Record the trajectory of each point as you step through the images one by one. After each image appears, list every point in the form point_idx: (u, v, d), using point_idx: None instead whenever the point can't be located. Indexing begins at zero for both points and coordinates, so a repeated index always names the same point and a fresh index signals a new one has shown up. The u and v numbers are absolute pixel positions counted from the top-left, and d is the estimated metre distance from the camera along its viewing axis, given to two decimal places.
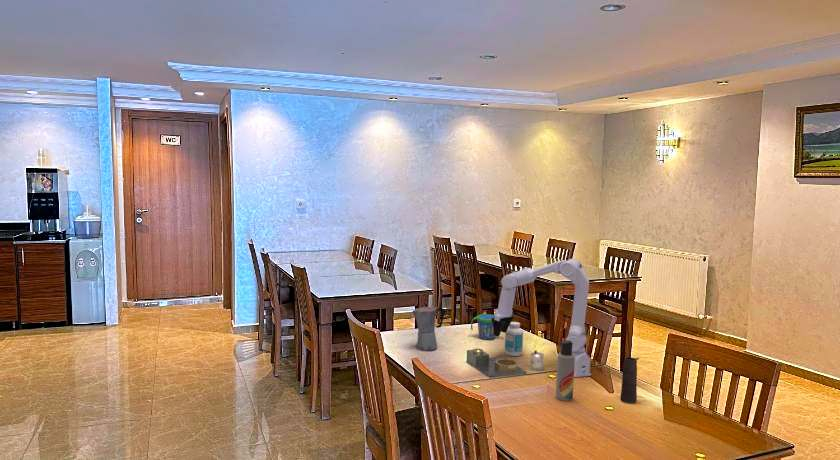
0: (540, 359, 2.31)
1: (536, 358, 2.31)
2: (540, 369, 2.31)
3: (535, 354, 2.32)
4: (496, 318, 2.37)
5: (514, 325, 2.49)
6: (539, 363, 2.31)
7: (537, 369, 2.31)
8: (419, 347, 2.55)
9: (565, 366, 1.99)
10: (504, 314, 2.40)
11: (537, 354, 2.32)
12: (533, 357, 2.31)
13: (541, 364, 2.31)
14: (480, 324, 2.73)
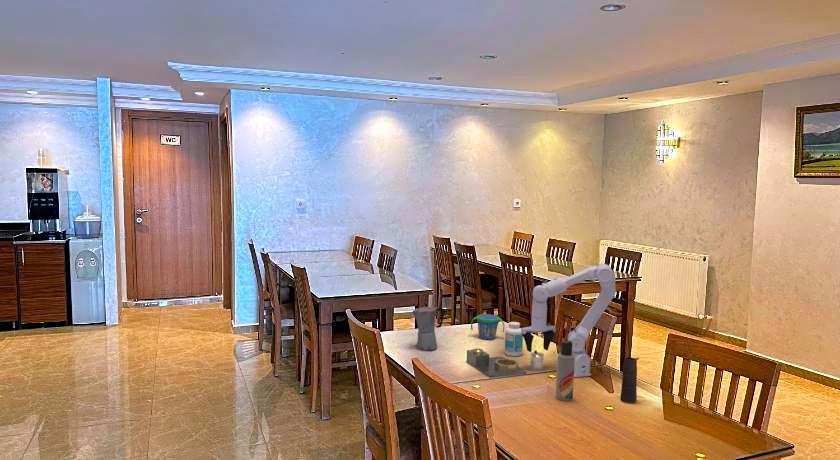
0: (540, 359, 2.31)
1: (536, 358, 2.31)
2: (540, 369, 2.31)
3: (535, 354, 2.32)
4: (522, 331, 2.29)
5: (514, 325, 2.49)
6: (539, 363, 2.31)
7: (537, 369, 2.31)
8: (419, 347, 2.55)
9: (565, 366, 1.99)
10: (534, 328, 2.30)
11: (537, 354, 2.32)
12: (533, 357, 2.31)
13: (541, 364, 2.31)
14: (480, 324, 2.73)
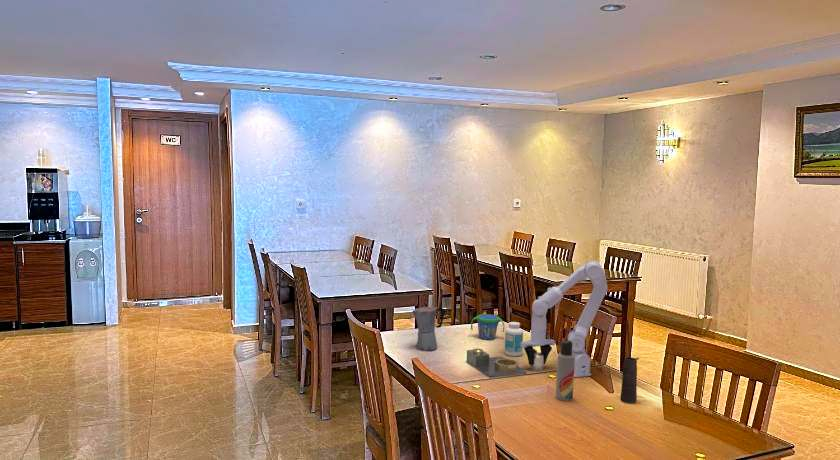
0: (540, 359, 2.31)
1: (536, 358, 2.31)
2: (540, 369, 2.31)
3: (535, 354, 2.32)
4: (521, 345, 2.30)
5: (514, 325, 2.49)
6: (539, 363, 2.31)
7: (537, 369, 2.31)
8: (419, 347, 2.55)
9: (565, 366, 1.99)
10: (533, 342, 2.30)
11: (537, 354, 2.32)
12: None
13: (541, 364, 2.31)
14: (480, 324, 2.73)
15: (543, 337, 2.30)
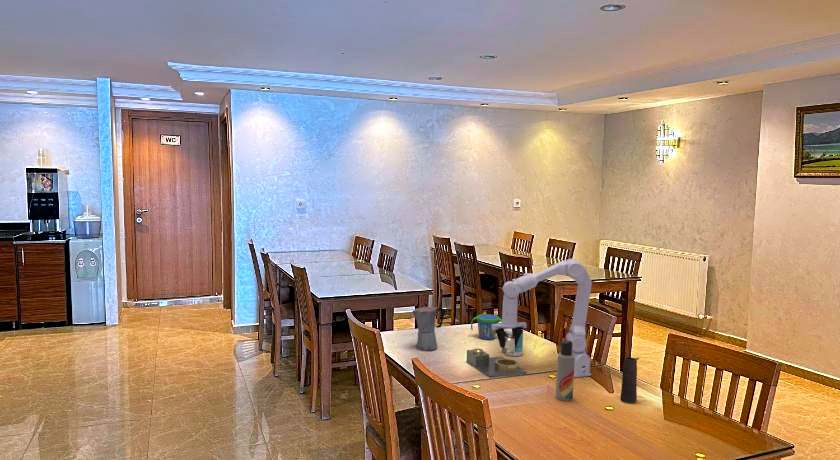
0: (511, 342, 2.29)
1: (507, 341, 2.29)
2: (511, 352, 2.29)
3: (506, 337, 2.30)
4: (492, 327, 2.28)
5: None
6: (510, 346, 2.29)
7: (508, 352, 2.29)
8: (419, 347, 2.55)
9: (565, 366, 1.99)
10: (504, 324, 2.28)
11: (508, 337, 2.30)
12: None
13: (512, 347, 2.29)
14: (480, 324, 2.73)
15: (514, 319, 2.28)
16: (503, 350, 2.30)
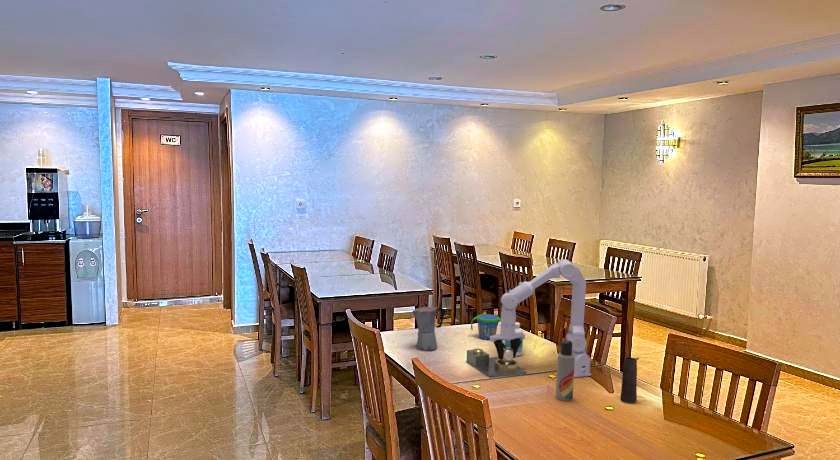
0: (510, 354, 2.29)
1: (506, 353, 2.29)
2: (510, 364, 2.29)
3: (505, 349, 2.31)
4: (490, 338, 2.28)
5: None
6: (509, 357, 2.29)
7: (507, 364, 2.29)
8: (419, 347, 2.55)
9: (565, 366, 1.99)
10: (503, 336, 2.29)
11: (506, 349, 2.31)
12: (503, 352, 2.29)
13: (511, 359, 2.29)
14: (480, 324, 2.73)
15: (512, 331, 2.28)
16: (501, 361, 2.30)
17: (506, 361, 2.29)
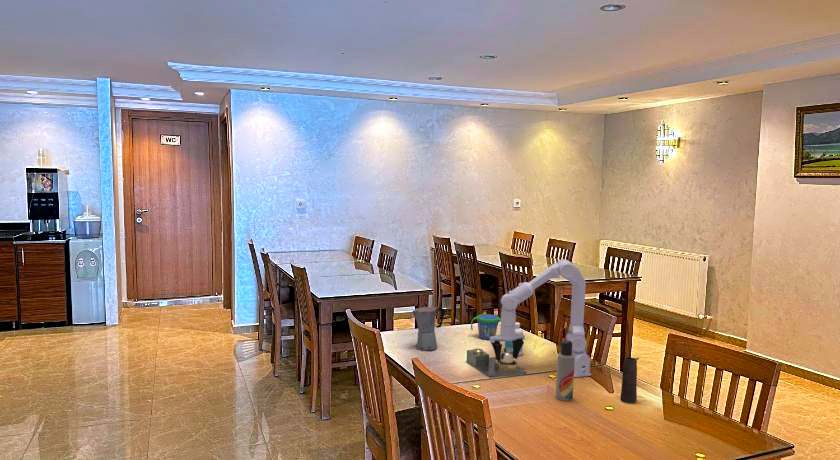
0: (509, 357, 2.29)
1: (505, 356, 2.29)
2: None
3: (504, 352, 2.31)
4: (490, 339, 2.28)
5: None
6: (508, 361, 2.29)
7: None
8: (419, 347, 2.55)
9: (565, 366, 1.99)
10: (503, 336, 2.29)
11: (506, 352, 2.31)
12: (502, 355, 2.30)
13: (510, 362, 2.30)
14: (480, 324, 2.73)
15: (512, 332, 2.28)
16: None
17: None
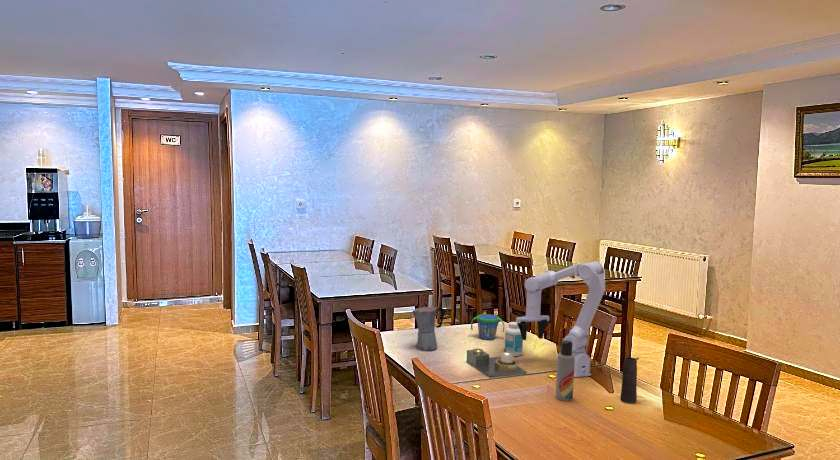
0: (509, 357, 2.29)
1: (505, 356, 2.29)
2: None
3: (504, 352, 2.31)
4: (517, 320, 2.39)
5: (514, 325, 2.49)
6: (508, 361, 2.29)
7: None
8: (419, 347, 2.55)
9: (565, 366, 1.99)
10: (528, 317, 2.39)
11: (506, 352, 2.31)
12: (502, 355, 2.30)
13: (510, 362, 2.30)
14: (480, 324, 2.73)
15: (538, 313, 2.39)
16: None
17: None
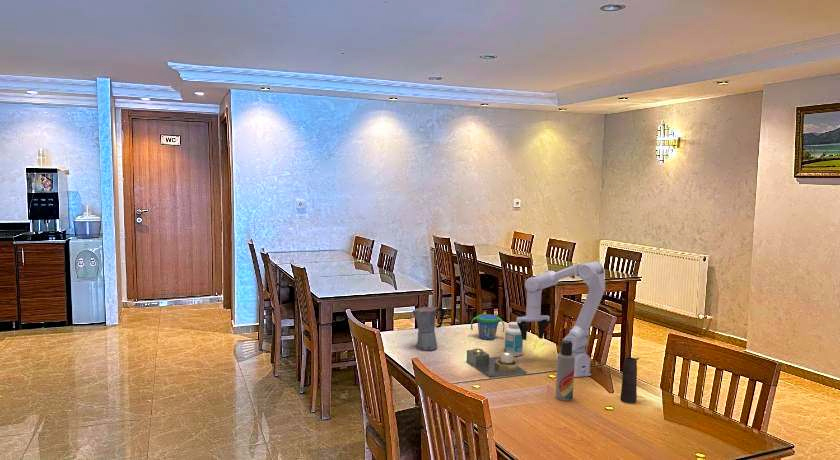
0: (509, 357, 2.29)
1: (505, 356, 2.29)
2: None
3: (504, 352, 2.31)
4: (517, 320, 2.39)
5: (514, 325, 2.49)
6: (508, 361, 2.29)
7: None
8: (419, 347, 2.55)
9: (565, 366, 1.99)
10: (529, 317, 2.39)
11: (506, 352, 2.31)
12: (502, 355, 2.30)
13: (510, 362, 2.30)
14: (480, 324, 2.73)
15: (538, 312, 2.39)
16: None
17: None
